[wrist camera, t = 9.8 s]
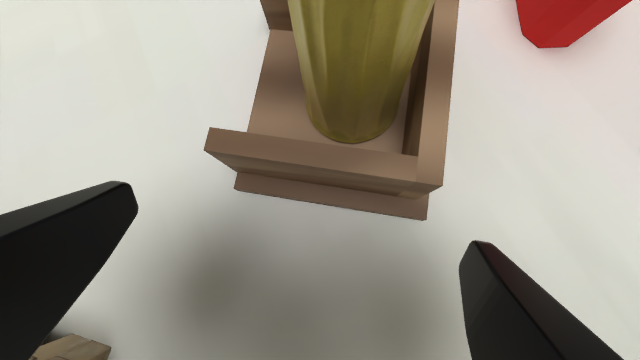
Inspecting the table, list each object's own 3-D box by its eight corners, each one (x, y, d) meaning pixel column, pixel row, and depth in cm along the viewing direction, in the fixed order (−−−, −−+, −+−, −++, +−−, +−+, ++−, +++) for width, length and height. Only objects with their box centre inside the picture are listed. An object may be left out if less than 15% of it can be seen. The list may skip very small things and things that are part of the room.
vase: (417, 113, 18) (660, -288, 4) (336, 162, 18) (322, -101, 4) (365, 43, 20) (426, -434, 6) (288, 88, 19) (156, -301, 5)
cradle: (422, 220, 18) (456, 212, 13) (236, 190, 19) (198, 171, 14) (442, 25, 20) (476, -47, 15) (278, 10, 22) (258, -63, 16)
